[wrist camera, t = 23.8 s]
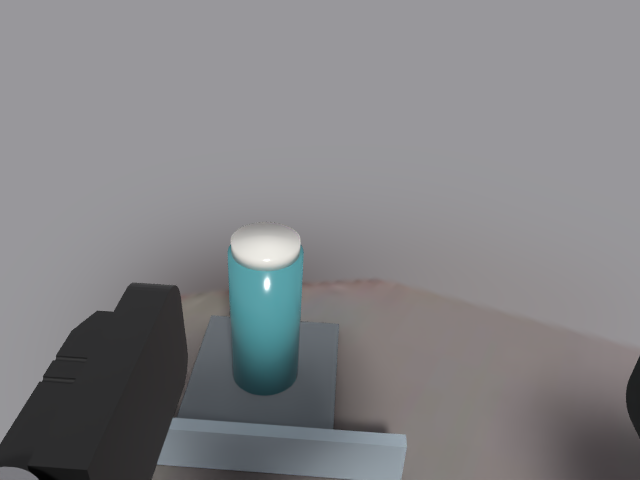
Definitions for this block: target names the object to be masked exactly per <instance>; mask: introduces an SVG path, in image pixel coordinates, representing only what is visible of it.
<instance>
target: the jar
mask: <svg viewBox="0 0 640 480" xmlns="http://www.w3.org/2000/svg"><path fill="white" fill-rule="evenodd" d="M300 242H301V240H300V236H299V235H298V233H297V232H296V231H295V230H293V229H292V228H290V227H288V226H286V225H283V224H279V223H272V222H259V223H252V224H249V225H246V226H243V227H241V228H239V229H238V230H236V231H235V233H234V234H233V235H232V237H231V245H230V246H229V249H228V270H229V271H228V272H229V299H230V325H231V351H232V374H233V378H234V381H235V383H236V384H237V385H238V386H239V387H240V388H241V389H243V390H244V391H246V392H248V393H251V394H255V395H263V396H266V395H274V394H278V393H281V392H283V391H285V390H287V389H288V388H289V387H291V386H292V385H293V383H294V382H295V381H296V379H297V376H298V364H299V342H300V320H301V298H302V275H303V253H304V252H303V248H302V246H301V244H300Z"/></svg>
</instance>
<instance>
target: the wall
mask: <svg viewBox="0 0 640 480" xmlns="http://www.w3.org/2000/svg"><path fill="white" fill-rule="evenodd" d="M406 449H407V443H406V435H401V434H387V433H374V432H360V431H347V430H333V429H320V428H306V427H293V426H279V425H266V424H252V423H239V422H225V421H212V420H198V419H185V418H173V419H172V422H171V425H170V427H169V430H168V433H167V436H166V439H165V442H164V445H163V448H162V451H161V453H160V456H159V459H158V462H157V465H170V466H183V467H196V468H209V469H222V470H235V471H248V472H261V473H274V474H287V475H300V476H313V477H326V478H339V479H352V480H401V477H402V471H403V466H404V460H405V454H406Z"/></svg>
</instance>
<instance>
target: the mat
mask: <svg viewBox="0 0 640 480" xmlns="http://www.w3.org/2000/svg"><path fill="white" fill-rule="evenodd" d="M338 333H339V324H331V323H316V322H301V321H300V342H299V364H298V376H297V379H296V381H295V382H294V383H293V385H292V386H291V387H289V388H288V389H287V390H285V391H283V392H281V393H278V394H274V395H266V396H263V395H255V394H251V393H248V392H246V391H244V390H243V389H241V388H240V387H239V386H238V385H237V384H236V383H235V381H234V378H233V374H232V351H231V325H230V317H227V316H212V315H211V318H210V321H209V324H208V327H207V330H206V333H205V336H204V339H203V342H202V345H201V348H200V351H199V354H198V356H197V359H196V362H195V365H194V368H193V371H192V374H191V377H190V380H189V383H188V386H187V389H186V392H185V395H184V398H183V401H182V403H181V406H180V409H179V412H178V415H177V418H185V419H198V420H212V421H225V422H239V423H252V424H266V425H279V426H293V427H306V428H320V429H333V425H334V406H335V388H336V370H337V352H338Z"/></svg>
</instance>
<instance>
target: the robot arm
mask: <svg viewBox="0 0 640 480" xmlns="http://www.w3.org/2000/svg"><path fill="white" fill-rule="evenodd" d="M187 363H188V353H187V344H186V336H185V328H184V320H183V312H182V304H181V296H180V291H179V289H178V287H177V286H175V285H161V284H145V283H131V284H130V285H129V286H128V287H127V289H126V291H125V292H124V294H123V296H122V298H121V300H120V301H119V303H118V305H117V307H116V309H115V310H114V312H108V311H96V312H95V313H94V314H93V315H91V316H90V317H89V318H87V319H86V320H85V321H83V322H82V323H81V324H80V325H79V326H77V327H76V328H75V329H73V330H72V331H71V333H70V334H69V336H68V337H67V339H66V341H65V342H64V344H63V346H62V347H61V348H60V350H59V352H58V353H57V355H56V360H55V361H52V363H51V364H50V366H49V368H48V369H47V371H46V373H45V374H44V376H43V381H42V382H39V383H38V385H37V387H36V388H35V390H34V391H33V393H32V394H31V396H30V398H29V399H28V401H27V402H26V404H25V406H24V407H23V409H22V410H21V412H20V413H19V415H18V417H17V418H16V420H15V421H14V423H13V425H12V426H11V428H10V429H9V431H8V433H7V434H6V436H5V437H4V439H3V440H2V442H1V444H0V480H151V479H152V476H153V474H154V471H155V468H156V465H157V462H158V459H159V456H160V453H161V451H162V448H163V445H164V442H165V439H166V436H167V433H168V430H169V427H170V425H171V422H172V419H173V416H174V413H175V410H176V407H177V404H178V402H179V399H180V396H181V393H182V390H183V387H184V383H185V379H186V373H187ZM626 403H627V409H628V413H629V417H630V419H631V421H632V423H633V425H634V427H635V430H636V432H637V434H638V436H639V438H640V357H639V359H638V361H637V363H636V365H635V368H634V370H633V372H632V374H631V376H630V379H629V381H628V385H627V390H626Z"/></svg>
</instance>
